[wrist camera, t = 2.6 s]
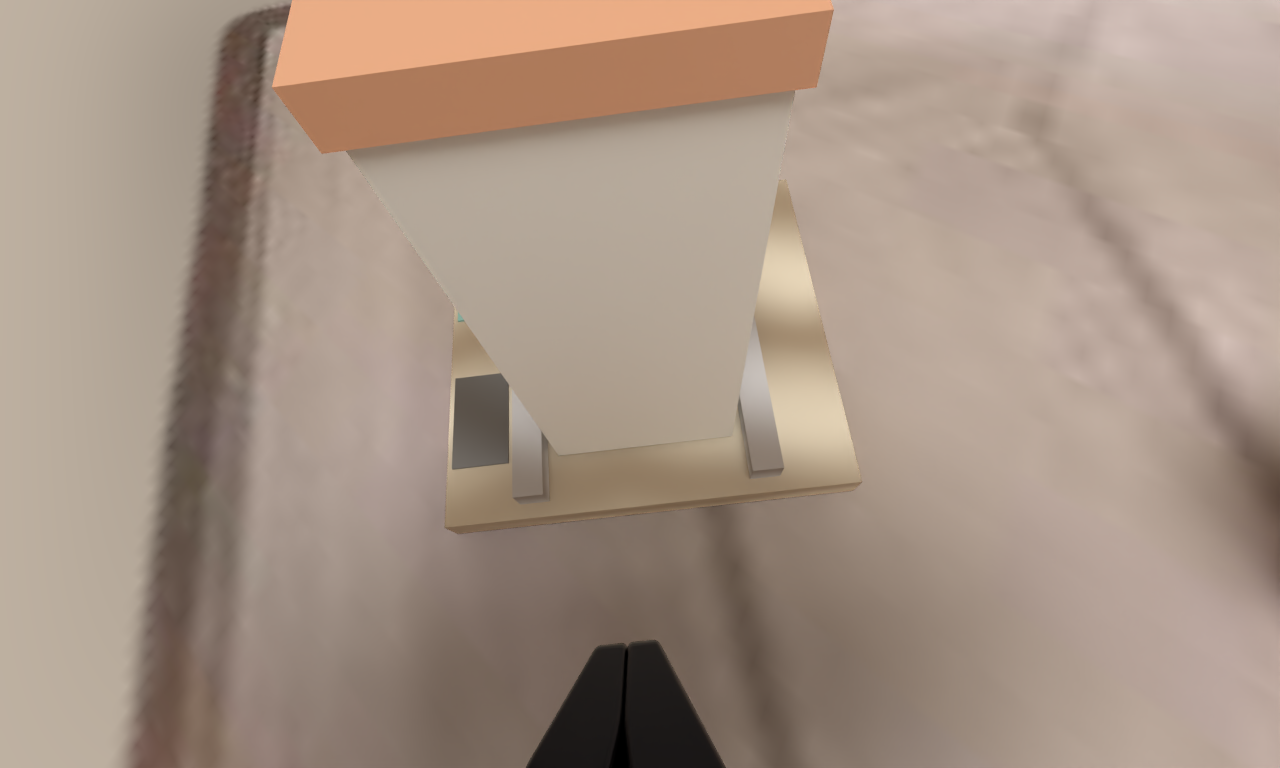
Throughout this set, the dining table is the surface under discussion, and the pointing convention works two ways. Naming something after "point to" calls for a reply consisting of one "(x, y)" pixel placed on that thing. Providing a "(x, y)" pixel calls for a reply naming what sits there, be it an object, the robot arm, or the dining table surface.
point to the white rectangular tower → (575, 182)
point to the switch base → (674, 472)
